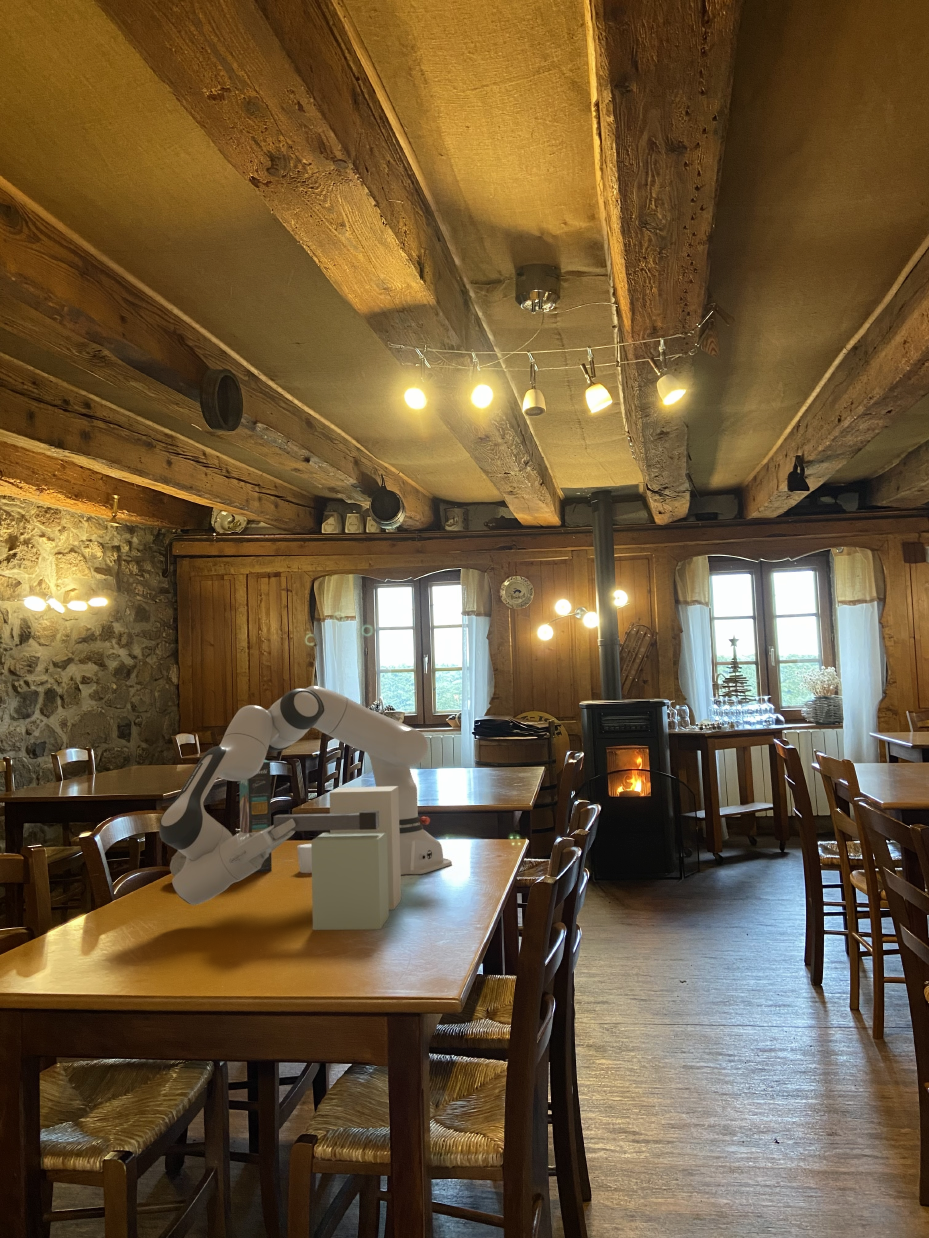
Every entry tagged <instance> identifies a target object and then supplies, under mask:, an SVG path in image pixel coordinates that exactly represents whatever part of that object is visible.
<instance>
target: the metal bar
mask: <svg viewBox="0 0 929 1238" xmlns="http://www.w3.org/2000/svg"><path fill="white" fill-rule="evenodd" d="M291 819H295V821H296V823H297V826H295V827H294V828H292V829H291V830H289V831H295V832H296V831H297V832H300V831H302V832H303V831H330V830H370V829H377V828H378V827H379V810H363V811H361V812H360V813H339V814H330V813H305V814H304V813H300V814H297V813H296V814H293V813H292V814H276V815H274V816H273V825H274V828H276V827H278V826H280V825H282V824H284V823H286V822H287V821H289V820H291Z"/></svg>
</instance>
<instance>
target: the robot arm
mask: <svg viewBox="0 0 929 1238" xmlns="http://www.w3.org/2000/svg"><path fill="white" fill-rule="evenodd" d="M311 728H312V729H313V728H314V729H316V730H318V731H319V732H321V733H323V734H325V735H328V736H329V737H331V738H333V739H335V740H337V741H339V742H341V743H342V744H343V743H344V744H346V745H348V746H350V748H354V749H357V750H360V751H362V752H364V753H366V754H367V755H368V757H369V760H370V764H371V769H372V774H373V777H374V783H375V787H386V786H398V795H399V833H400V871H401V876H402V875H422V874H426V873H429V872H432V871H436V870H439V869H442V868H445V867H449V866H451V865H453V864H452V863H453V862H452V861H451V859H448V858H444V853H443V847H442V844H441V842H440V841H439V840H437V839H436V838H435V837H434V836H432V835H431V834H430V833H429V832H427V831H426V830H425V829H424V825H429V824H430V822H431V819H430V818H429V817H428V816H422V817H420V816H419V815H418V813H419V812H418V811H419V810H418V788H417V785H416V783H415V781H414V778H413V775H412V773H411V768H410V767H413V766H415V765H418V764H420V763H421V762H422V761H423V760H424V759H425V757H426V755H427V754H428V748H429V747H428V745H429V744H428V740H427V738H426V736H425V735H424V733H422V732H421V731H420V730H417V729H416V728H414V727H412V726H409V725H407V724H405V723H403V722H401V721H399V720H396V719H394V718H391V717H389V716H387V715H384V714H382V713H379V712H377V711H374V710H372V709H370V708H367V707H366V706H365V705H361V704H360V703H357V702H356V701H354V700H352V699H351V698H348V697H346V696H345V695H342V694H340V693H339V692H336V691H333V690H330V689H329V688H325V687H321V686H319V685H318V686H317V685H310V686H308V687H306V688H295V689H291V690H289V691H288V692H286V693H285V694H284V695H283V696H282V697H280V698H279V699H278V700H276V701H275V702H274V703H273V704H272V705H270V707H269V708H268V709H266V708H263V707H262V706H260V705H254V704H253V705H252V704H249V705H245V706H243V707H241V708H240V709H239V710H237V712H236V714H235V715H234V717H233V718H232V720H231V721H230V723H229V725H228V726H227V729H226V731H225V732H224V736H223V738H222V740H221V742H220V744H219V745H217V746H216V745H215V746H212V747H211V748H208V750H207V751H205V753H203V755H202V757H200V759H199V761H198V762H197V763H196V765H195V767H194V768H193V770H192V771H191V773H190V775H189V776H188V778H187V779H186V781H185V783H184V785H183V786H182V788H181V790H180V791H179V792H178V794H177V796H176V797H175V799H174V800H173V801H172V802H171V804H169V805H168V807H167V808H166V809H165V810H164V812H162V815H161V817H160V820H159V826H158V831H159V838H160V839H161V841H162V842H163V843H165V844H166V845H168V846H169V847H171V848H173V849H175V850H177V852H178V851H180V852H181V853H182V854H184V855H185V856H186V862H185V864H184V867H183V868H182V870H181V871H180V872H179V873H178V874H177V875H176V876H175V877H174V876H173V878H172V880H171V883H172V886H173V889H174V892H175V893H176V895H178V897H179V898H180V899H181V900H182V901H184V902H185V903H187V904H189V905H191V906H195V905H196V906H197V905H201V904H203V903H205V902H207V901H210V900H211V899H213V898H215V897H216V896H218V895H220V894H221V893H224V891H226V890H227V889H229V887H230V886H231V885H232V884H234V883H237V882H240V881H242V880H244V879H246V878H247V877H248V876H251V875H252V874H254V873H253V872H255V871H257V870H258V869H260V868H261V866H262V863H263V862H264V860H265V859H266V858H267V857H268V856H269V853H270V852H271V853H272V852H273V851H274V850H276V849H277V848H278V847H279V846H280V845H282V844H283V843H284V842H286V841H287V840H288V839H289V838H291V837H292V836H293V835H294V834H295V832H296V831H289V830H291V829H292V828H294V827H295V826H297V823H296V821H295V819H291V820H289V821H287V822H286V823H284V824H282V825H280V826H278V827H276V828H274V824H273V825H272V824H271V826H270V827H268V828H266V829H264V830H261V831H259V832H251V833H242V832H240V831H239V832H238V833H236V834H234V835H233V833H231V832H230V831H229V829H228V828H226V827H225V826H224V825H222V824H221V823H220V822H218V821H217V820H216V819H215V818H214V817H212V816H211V815H210V814H209V813H207V811H206V810H205V807H204V801H205V799H206V798H207V796H208V794H209V792H210V790H211V789H212V788H213V785H214V784H215V782H216V780H217V778H219V779H222V780H225V781H232V782H240V781H242V780H246V779H249V778H251V777H253V776H254V775H256V774H257V773H258V772H259V770H260V769H261V767H262V765H263V763H264V760H266V757H267V754H268V752H272V753H275V752H282V751H285V750H286V749H289V748H290V747H291V746H292V745H293V744H295V743H297V742H298V741H299V740H300V739H302V738H303V737H304V736H305V734H306V733H308V731H309V730H311Z"/></svg>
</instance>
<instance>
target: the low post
mask: <svg viewBox="0 0 929 1238" xmlns="http://www.w3.org/2000/svg"><path fill="white" fill-rule="evenodd" d="M311 849H312V873H311V885H312V886H311V887H312V888H311V891H312V892H311V893H312V895H311V898H312V903H311V904H312V930H313V931H332V930H333V931H335V930H336V931H337V930H338V931H339V930H341V931H342V930H343V931H344V930H346V931H348V930H357V931H358V930H381V929H382V928H383V926H384V925H385V923H387V921H388V919H389V918H390V910H389V896H388V856H387V832H339V833H330V832H322V833H320V834H319V835H318V836H316V837H314V838H313V839H311Z"/></svg>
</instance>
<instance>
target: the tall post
mask: <svg viewBox="0 0 929 1238" xmlns="http://www.w3.org/2000/svg"><path fill="white" fill-rule="evenodd" d="M363 810H379V827H378V828H377V829H370V830H329V831H330V832H329V833H339V832H387V856H388V896H389V911H394V910H395V909H396V908H397V906H398V905H399V903H400V901H401V900H402V883H401V882H402V878H401V877H402V875H401V871H400V833H399V795H398V786H386V787H376V786H351V787H339V788H336V789H334V790H332V791H330V792H329V814H339V813H360V812H361V811H363Z"/></svg>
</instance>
